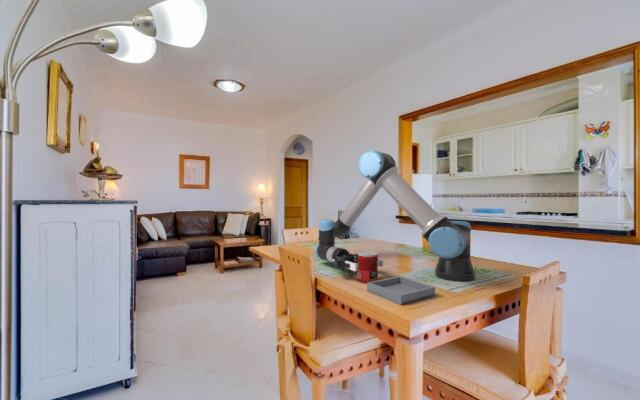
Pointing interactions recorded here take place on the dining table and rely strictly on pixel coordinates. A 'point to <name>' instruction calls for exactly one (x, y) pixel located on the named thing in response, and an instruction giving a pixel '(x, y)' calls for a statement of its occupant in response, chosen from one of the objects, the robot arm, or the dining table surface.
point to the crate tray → (401, 290)
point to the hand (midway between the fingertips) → (369, 265)
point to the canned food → (367, 266)
